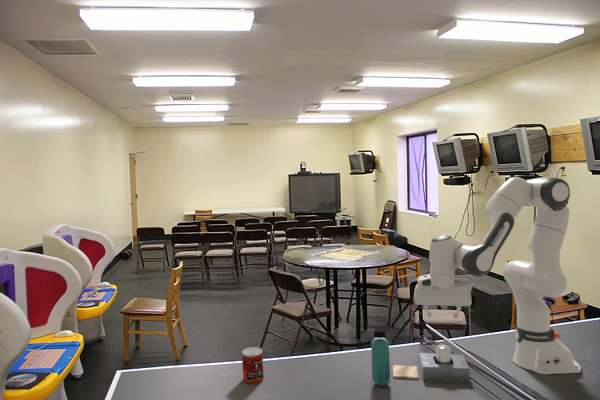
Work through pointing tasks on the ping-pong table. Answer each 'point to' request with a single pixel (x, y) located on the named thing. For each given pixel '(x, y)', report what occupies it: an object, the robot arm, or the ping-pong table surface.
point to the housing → (444, 368)
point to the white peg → (443, 354)
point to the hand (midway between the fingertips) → (442, 316)
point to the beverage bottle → (380, 358)
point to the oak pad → (405, 372)
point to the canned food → (252, 365)
